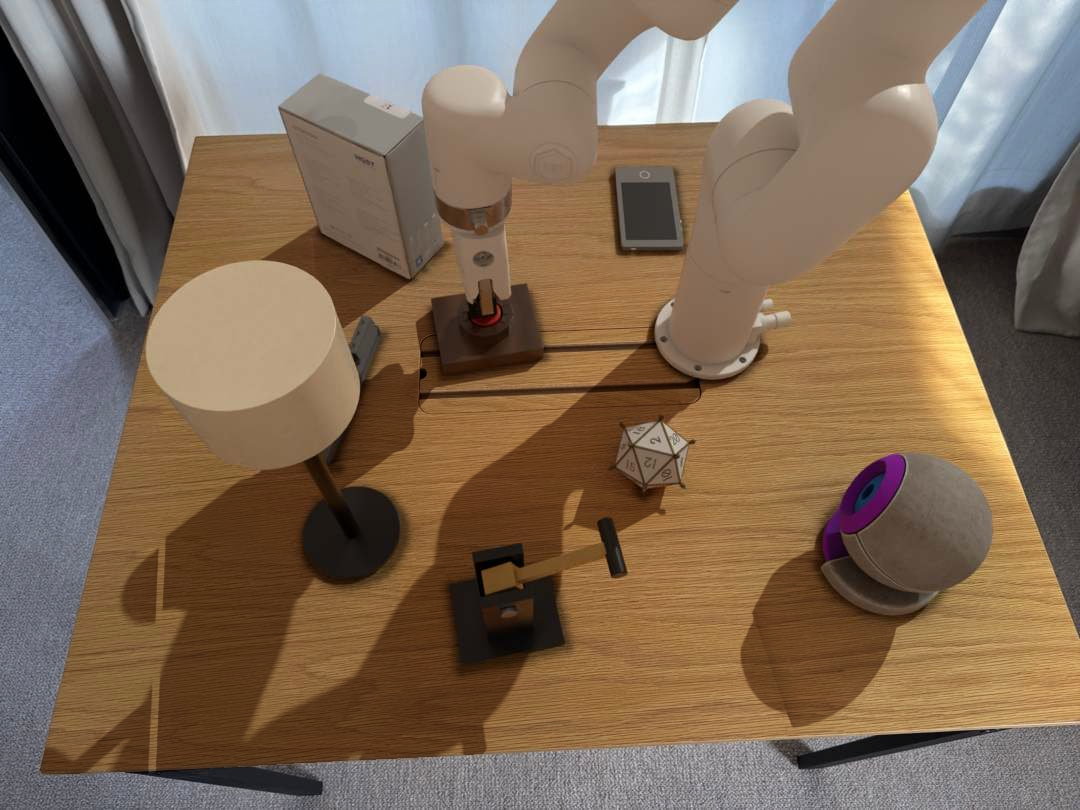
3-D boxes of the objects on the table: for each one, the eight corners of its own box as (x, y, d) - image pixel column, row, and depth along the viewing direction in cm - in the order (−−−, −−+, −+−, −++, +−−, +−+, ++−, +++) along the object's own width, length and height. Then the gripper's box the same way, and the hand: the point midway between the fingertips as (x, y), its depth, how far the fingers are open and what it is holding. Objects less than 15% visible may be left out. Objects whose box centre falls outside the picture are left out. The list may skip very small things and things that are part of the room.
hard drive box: (446, 244, 101) (428, 118, 84) (411, 282, 98) (384, 158, 81) (354, 198, 105) (319, 69, 88) (317, 233, 102) (273, 106, 85)
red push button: (498, 307, 93) (497, 297, 91) (503, 330, 91) (503, 321, 89) (468, 311, 92) (467, 302, 91) (473, 335, 90) (472, 326, 89)
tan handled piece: (615, 522, 67) (609, 513, 65) (630, 576, 65) (624, 569, 63) (487, 562, 69) (478, 555, 67) (497, 616, 67) (487, 611, 64)
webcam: (841, 476, 84) (896, 406, 71) (958, 532, 81) (1038, 470, 68) (798, 575, 78) (850, 518, 65) (922, 640, 75) (1002, 594, 62)
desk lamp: (405, 474, 84) (329, 248, 53) (419, 579, 78) (342, 392, 47) (294, 495, 83) (149, 274, 52) (299, 603, 77) (139, 427, 46)
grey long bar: (334, 472, 84) (325, 455, 81) (312, 468, 84) (302, 450, 81) (386, 336, 93) (380, 315, 90) (365, 332, 94) (358, 311, 90)
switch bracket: (547, 568, 79) (549, 520, 68) (565, 646, 74) (570, 608, 64) (450, 587, 77) (436, 542, 66) (463, 668, 73) (450, 633, 62)
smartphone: (684, 250, 101) (685, 247, 100) (621, 251, 100) (622, 247, 100) (672, 170, 108) (673, 166, 108) (614, 170, 108) (615, 166, 108)
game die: (639, 470, 88) (658, 390, 85) (697, 505, 83) (721, 421, 79) (585, 486, 82) (603, 402, 79) (644, 525, 77) (666, 436, 73)
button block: (527, 294, 97) (526, 273, 93) (543, 358, 92) (543, 338, 88) (432, 309, 96) (428, 288, 92) (444, 375, 91) (440, 356, 87)
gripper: (526, 246, 71) (526, 358, 87) (497, 138, 79) (502, 259, 94) (445, 258, 70) (460, 369, 86) (424, 148, 78) (441, 269, 93)
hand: (482, 311), depth 90 cm, fingers closed
